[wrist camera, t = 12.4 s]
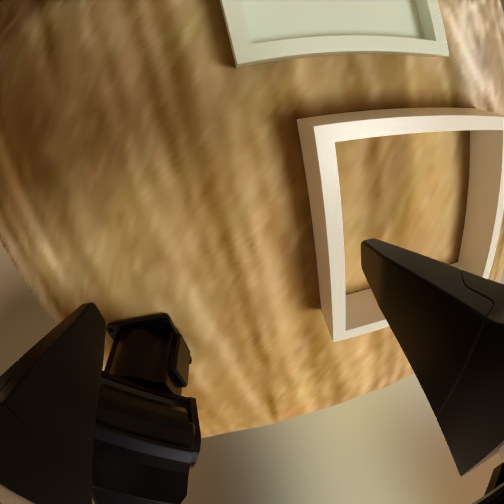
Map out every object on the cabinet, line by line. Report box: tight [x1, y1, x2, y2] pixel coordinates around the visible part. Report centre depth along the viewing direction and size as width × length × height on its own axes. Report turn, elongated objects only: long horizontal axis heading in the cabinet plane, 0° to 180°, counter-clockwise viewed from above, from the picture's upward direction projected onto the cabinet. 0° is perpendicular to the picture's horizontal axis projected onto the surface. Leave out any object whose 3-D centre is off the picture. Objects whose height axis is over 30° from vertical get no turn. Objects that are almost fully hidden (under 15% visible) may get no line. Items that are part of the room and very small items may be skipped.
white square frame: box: [296, 107, 504, 342], centre depth 19 cm, size 16×16×4 cm
